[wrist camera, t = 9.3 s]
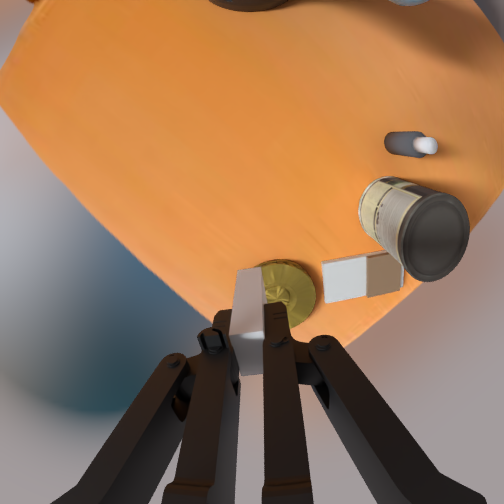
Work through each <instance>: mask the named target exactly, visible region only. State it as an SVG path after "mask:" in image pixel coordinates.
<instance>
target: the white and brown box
mask: <svg viewBox="0 0 504 504" xmlns="http://www.w3.org/2000/svg"><path fill="white" fill-rule="evenodd" d="M321 263H322V275H323V288H324V301H325V303H331V302H336V301H341V300H346V299H351V298H356V297H361V296H365V295H366V296H367V297H368V298H369V297H373V296H378V295H382V294H387V293H391V292H395V291H399V290H400V287H403V276H404V267H403V266H402V265H401V264H400V263H399V262H398V261H397V260H396V259H395V258H394V257H393V256H392V255H391V254H390V253H388V252H387V251H386V250H382V251H377V252H371V253H366V254H360V255H355V256H350V257H344V258H339V259H333V260H327V261H322V262H321Z"/></svg>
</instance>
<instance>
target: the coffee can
mask: <svg viewBox="0 0 504 504" xmlns="http://www.w3.org/2000/svg"><path fill="white" fill-rule="evenodd" d="M358 214H359V220H360V223H361V226H362V228H363V229H364V231H365V232H366V233H367V234H368V235H369V236H370V237H372V238H373V239H374V240H375V241H377V242H378V243H379V244H380V245H381V246H382V247H383V248H384V249H385V250H386V251H387V252H388V253H390V254H391V255H392V256H393V257H394V258H395V259H396V260H397V261H398V262H399V263H400V264H401V265H402V266H403V267H404V268H405V270H406V271H407V272H408V273H409V274H410V275H411V276H412V277H413V278H415V279H417V280H419V281H423V282H432V281H436V280H439V279H441V278H443V277H445V276H446V275H448V274H449V273H450V272H451V271H452V270H453V269H454V268H455V267H456V266H457V265H458V263H459V262H460V260H461V258H462V257H463V255H464V253H465V250H466V247H467V244H468V240H469V232H470V226H469V219H468V215H467V212H466V209H465V208H464V206H463V204H462V203H461V202H460V201H459V200H458V199H457V198H456V197H454V196H452V195H450V194H447V193H442V192H438V191H435V190H432V189H429V188H426V187H423V186H420V185H417V184H414V183H411V182H408V181H405V180H401V179H399V178H396V177H392V176H385V177H381V178H378V179H376V180H374V181H373V182H372V183H371V184H369V185H368V187H367V188H366V189H365V191H364V192H363V194H362V196H361V199H360V202H359V208H358Z"/></svg>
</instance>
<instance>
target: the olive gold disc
mask: <svg viewBox="0 0 504 504" xmlns="http://www.w3.org/2000/svg"><path fill="white" fill-rule="evenodd" d="M256 267H261V270H262V276H263V282H264V287H265V293H266V298H267V303H274V302H280V301H282V302H283V303H284V304H285V305H286V309H287V315H288V321H289V327H290V329H291V328H293V327H295V326H297V325H299V324H300V323H302V322H303V321H304V320H305V319H306V318H307V317H308V316H309V315H310V313H311V312H312V310H313V308H314V305H315V301H316V291H315V287H314V285H313V282H312V280H311V278H310V276H309V275H308V273H307V272H306V271H305V270H304V269H303V268H301V267H300V265H298V264H296V263H294V262H292V261H289V260H284V259H277V260H274V261H267V262H264V263H261V264H259V265H257V266H255V267H254V268H256Z"/></svg>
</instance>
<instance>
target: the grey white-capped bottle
mask: <svg viewBox="0 0 504 504" xmlns="http://www.w3.org/2000/svg"><path fill="white" fill-rule="evenodd" d="M384 144H385V148H386V149H387V151H388V152H389V153H391V154H395V155H403V156H410V157H416V158H422V157H424V156H425V155H426V154H434V153H436V151H437V149H438V145H437V142H436V140H435V139H434V138H432V137H426V136H425V135H424V134H423V133H421V132H417V131H412V132H390V133H388V134H387V135H386V137H385V140H384Z"/></svg>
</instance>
